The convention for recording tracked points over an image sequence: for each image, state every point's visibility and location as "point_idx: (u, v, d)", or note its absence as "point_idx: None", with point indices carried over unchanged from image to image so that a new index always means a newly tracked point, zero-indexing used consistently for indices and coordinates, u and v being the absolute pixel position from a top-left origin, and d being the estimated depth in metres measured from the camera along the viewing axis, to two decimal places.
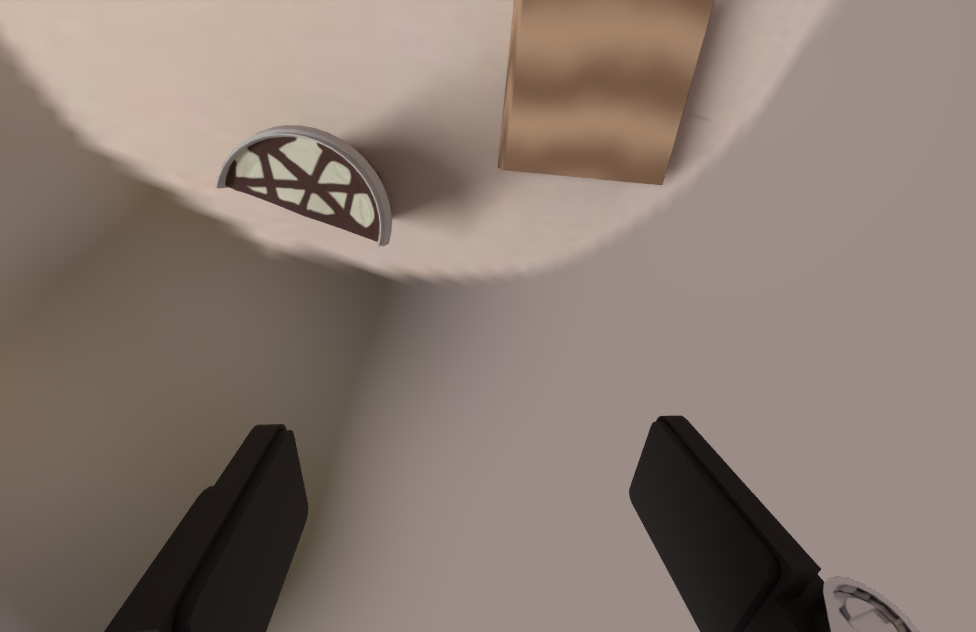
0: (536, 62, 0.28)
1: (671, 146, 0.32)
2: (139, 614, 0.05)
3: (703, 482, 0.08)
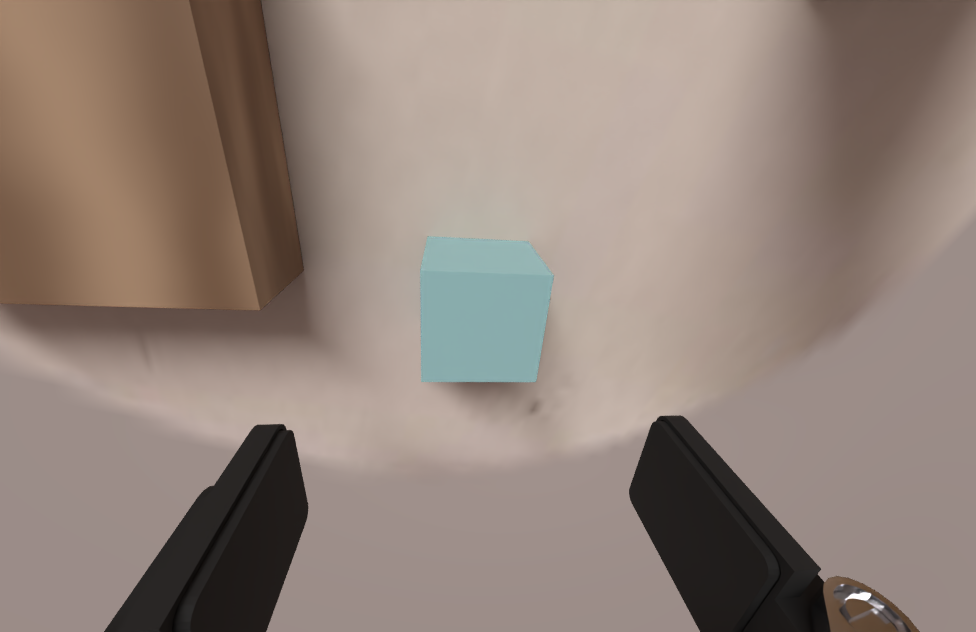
0: None
1: None
2: (139, 614, 0.05)
3: (703, 482, 0.08)
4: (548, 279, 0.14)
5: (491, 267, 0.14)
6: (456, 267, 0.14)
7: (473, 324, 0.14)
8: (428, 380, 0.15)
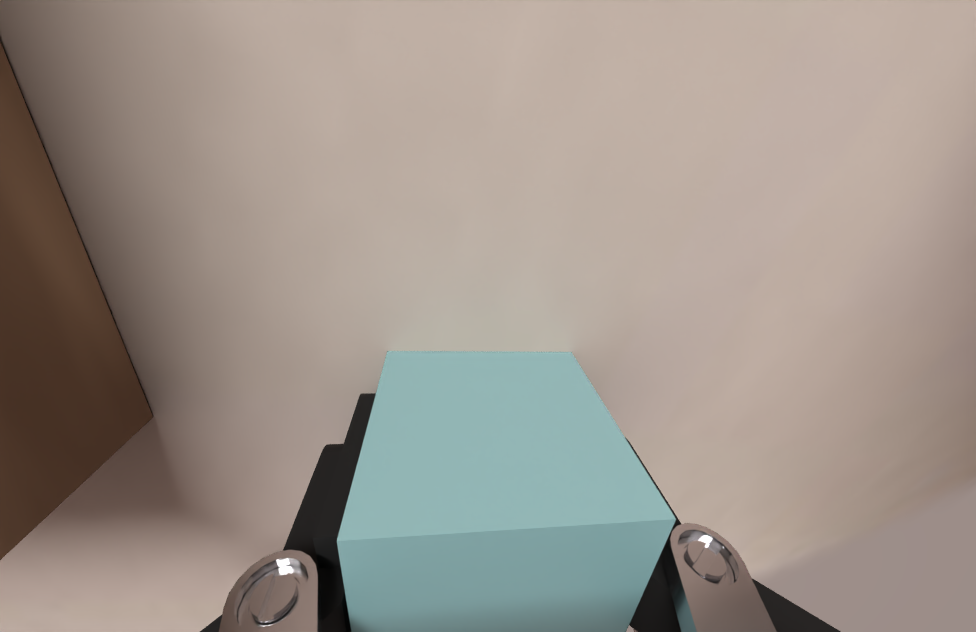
0: None
1: None
2: (325, 526, 0.06)
3: None
4: (662, 526, 0.06)
5: (518, 489, 0.06)
6: (437, 503, 0.05)
7: (478, 614, 0.06)
8: None
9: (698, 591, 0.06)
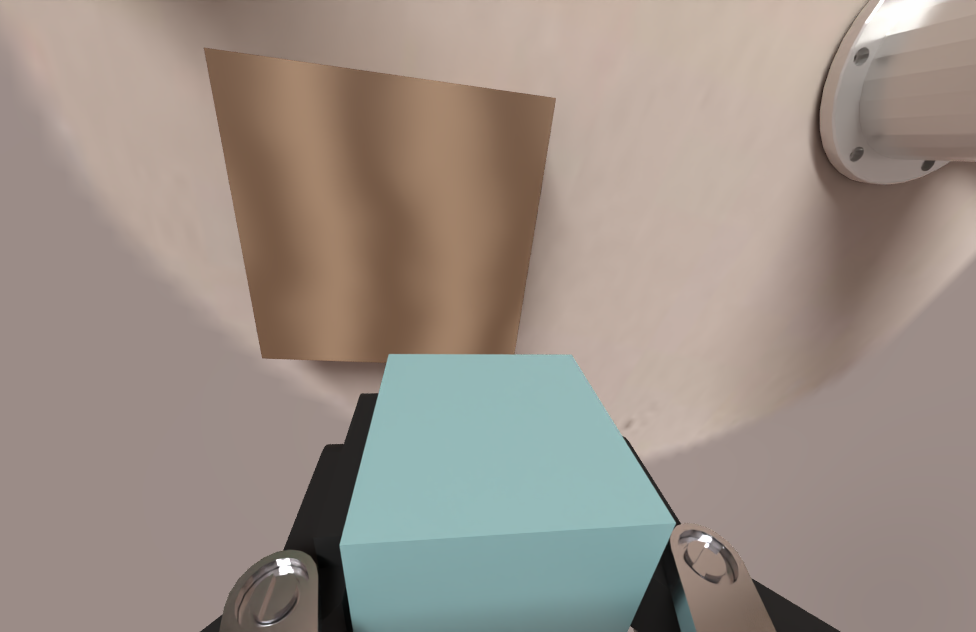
0: (403, 118, 0.16)
1: (320, 358, 0.21)
2: (325, 526, 0.06)
3: None
4: (662, 530, 0.06)
5: (520, 493, 0.06)
6: (439, 507, 0.05)
7: (479, 617, 0.06)
8: None
9: (698, 591, 0.06)
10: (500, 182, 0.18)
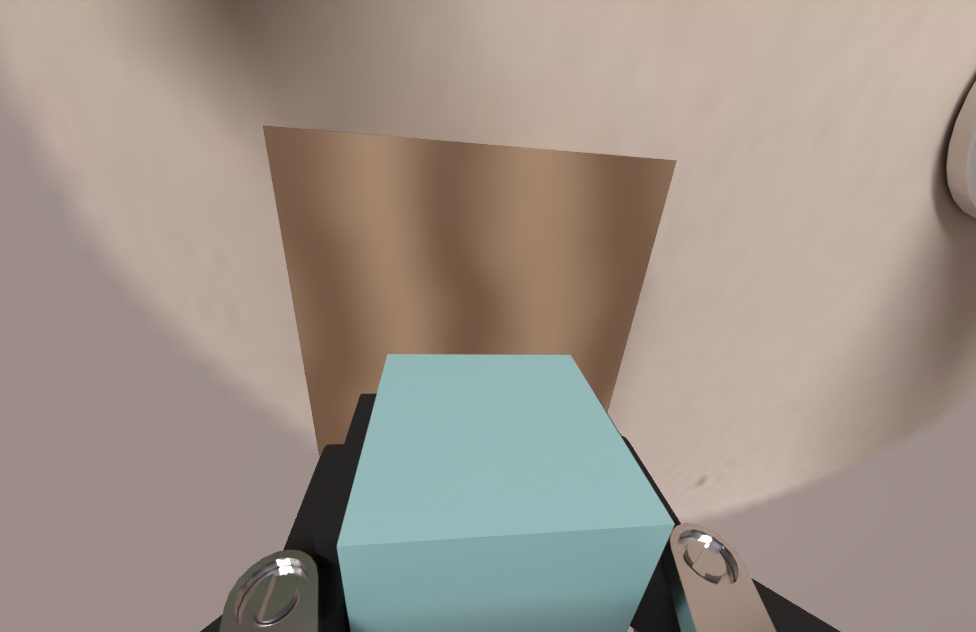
0: (496, 192, 0.14)
1: None
2: (325, 526, 0.06)
3: None
4: (661, 531, 0.06)
5: (518, 494, 0.06)
6: (437, 508, 0.05)
7: (477, 618, 0.06)
8: None
9: (698, 591, 0.06)
10: (602, 256, 0.15)
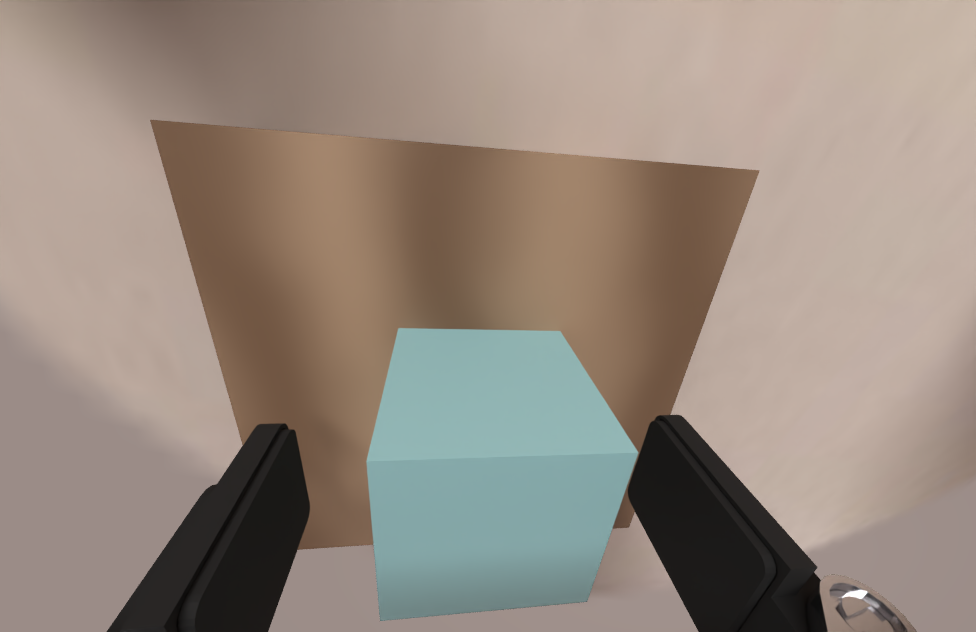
0: (505, 216, 0.10)
1: (358, 542, 0.14)
2: (144, 611, 0.05)
3: (701, 481, 0.08)
4: (627, 459, 0.07)
5: (512, 430, 0.07)
6: (445, 438, 0.07)
7: (478, 535, 0.07)
8: (393, 617, 0.08)
9: None
10: (650, 300, 0.11)
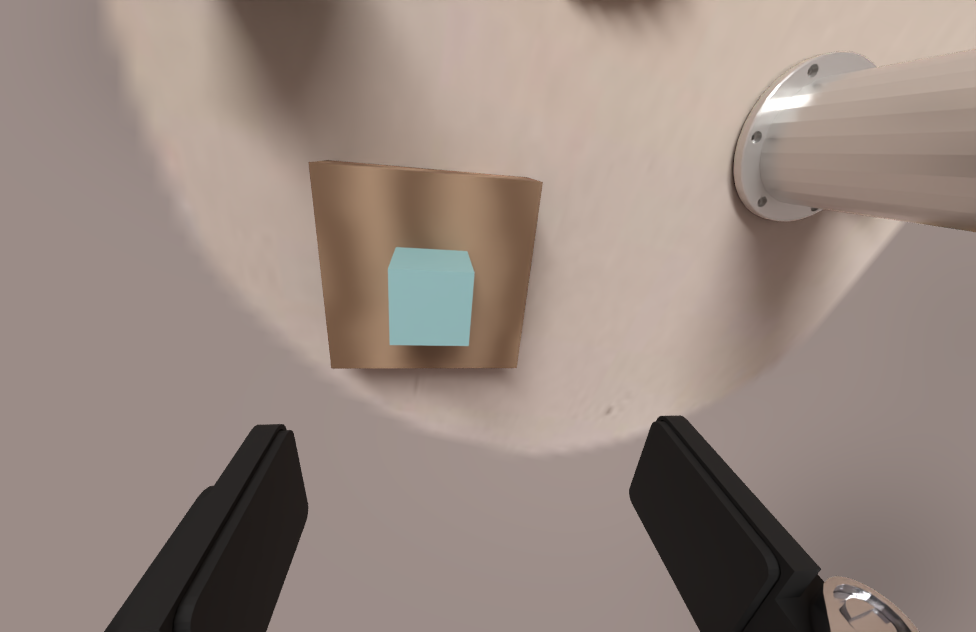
0: (439, 199, 0.24)
1: (374, 366, 0.29)
2: (139, 614, 0.05)
3: (703, 482, 0.08)
4: (471, 275, 0.21)
5: (434, 267, 0.21)
6: (412, 267, 0.21)
7: (423, 304, 0.22)
8: (394, 344, 0.22)
9: None
10: (506, 237, 0.26)
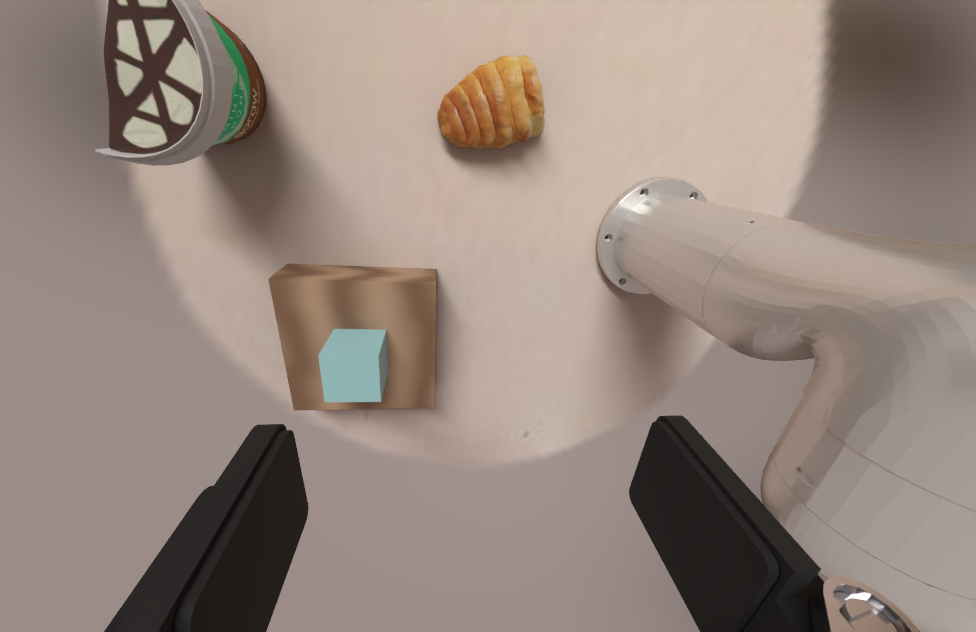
0: (362, 297, 0.34)
1: (325, 408, 0.39)
2: (139, 614, 0.05)
3: (703, 482, 0.08)
4: (376, 357, 0.31)
5: (352, 351, 0.31)
6: (336, 352, 0.31)
7: (345, 376, 0.32)
8: (328, 401, 0.33)
9: None
10: (414, 320, 0.36)
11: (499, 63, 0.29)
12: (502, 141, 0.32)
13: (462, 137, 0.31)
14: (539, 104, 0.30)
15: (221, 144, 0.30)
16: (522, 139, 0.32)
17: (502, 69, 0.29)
